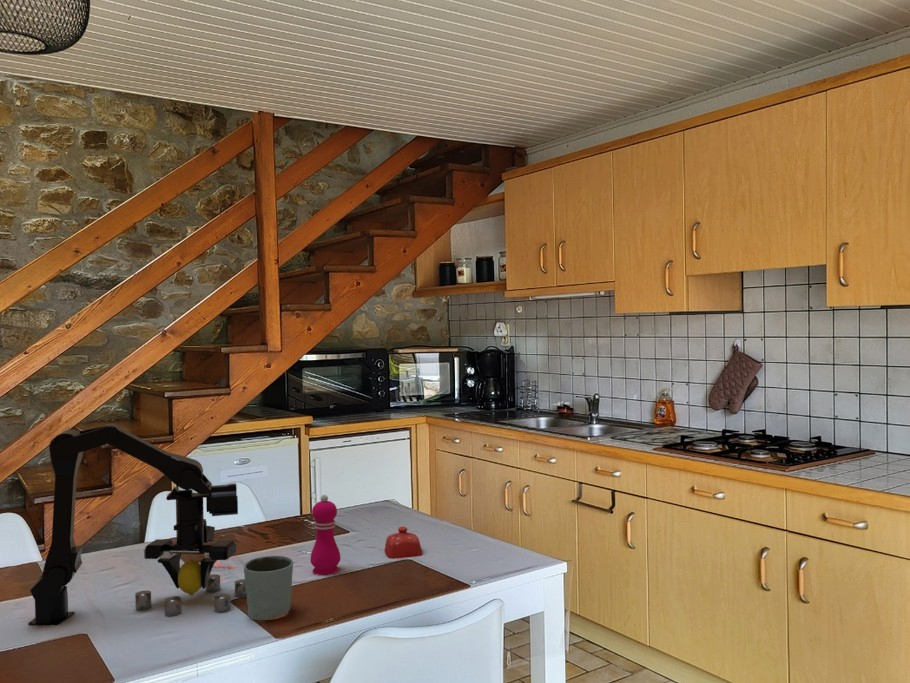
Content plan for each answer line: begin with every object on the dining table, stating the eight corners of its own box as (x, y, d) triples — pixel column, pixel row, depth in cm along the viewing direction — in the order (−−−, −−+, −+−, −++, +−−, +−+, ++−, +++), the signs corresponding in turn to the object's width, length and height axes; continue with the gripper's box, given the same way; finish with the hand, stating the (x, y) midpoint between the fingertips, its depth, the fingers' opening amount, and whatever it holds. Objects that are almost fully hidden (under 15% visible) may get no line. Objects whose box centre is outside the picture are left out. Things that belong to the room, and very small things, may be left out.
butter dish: (378, 554, 203) (378, 522, 203) (421, 551, 206) (420, 519, 205) (383, 568, 192) (383, 534, 192) (428, 564, 194) (428, 531, 194)
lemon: (196, 600, 165) (195, 564, 164) (173, 599, 166) (172, 562, 165) (209, 591, 170) (208, 556, 170) (186, 590, 171) (186, 555, 171)
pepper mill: (304, 578, 184) (302, 496, 184) (323, 569, 191) (321, 490, 190) (328, 583, 181) (327, 499, 180) (346, 573, 187) (345, 493, 187)
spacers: (228, 621, 158) (227, 602, 158) (125, 619, 160) (125, 600, 160) (256, 592, 175) (255, 574, 175) (163, 590, 177) (163, 573, 177)
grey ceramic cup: (274, 606, 166) (273, 552, 166) (304, 617, 160) (303, 561, 160) (234, 621, 158) (233, 564, 158) (264, 633, 152) (263, 574, 152)
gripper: (244, 509, 175) (245, 576, 175) (165, 508, 176) (167, 575, 177) (225, 522, 163) (227, 594, 164) (142, 521, 165) (143, 592, 165)
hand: (191, 588), depth 168 cm, fingers closed on lemon, 5 cm apart
